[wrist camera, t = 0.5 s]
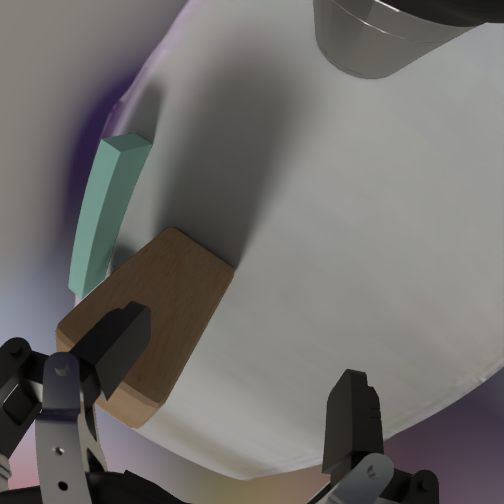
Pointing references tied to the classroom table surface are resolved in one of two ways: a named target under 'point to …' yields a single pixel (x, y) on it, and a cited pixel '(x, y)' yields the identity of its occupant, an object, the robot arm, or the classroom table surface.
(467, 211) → the classroom table surface
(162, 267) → the wooden block
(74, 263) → the teal block
